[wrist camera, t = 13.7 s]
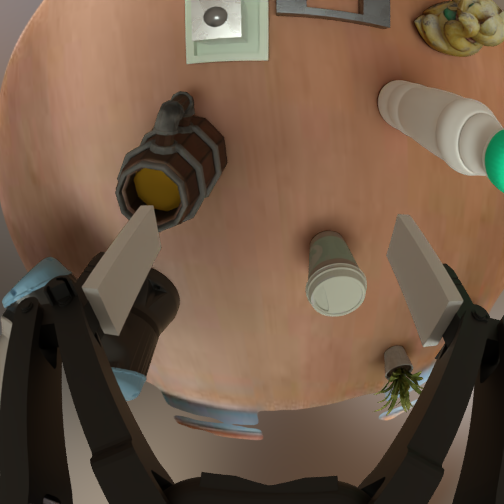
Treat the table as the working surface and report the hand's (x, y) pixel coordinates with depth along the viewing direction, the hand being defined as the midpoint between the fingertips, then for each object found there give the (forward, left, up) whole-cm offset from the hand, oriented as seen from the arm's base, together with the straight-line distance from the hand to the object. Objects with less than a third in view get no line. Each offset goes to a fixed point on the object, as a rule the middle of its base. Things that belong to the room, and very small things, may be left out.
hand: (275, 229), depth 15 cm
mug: (-12, -2, -27) cm, 30 cm away
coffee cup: (+9, -19, -27) cm, 34 cm away
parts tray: (-6, +14, -27) cm, 31 cm away
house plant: (+30, -49, -27) cm, 63 cm away
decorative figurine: (+23, +18, -27) cm, 40 cm away
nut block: (-6, +14, -26) cm, 30 cm away
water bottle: (+17, +5, -27) cm, 32 cm away
